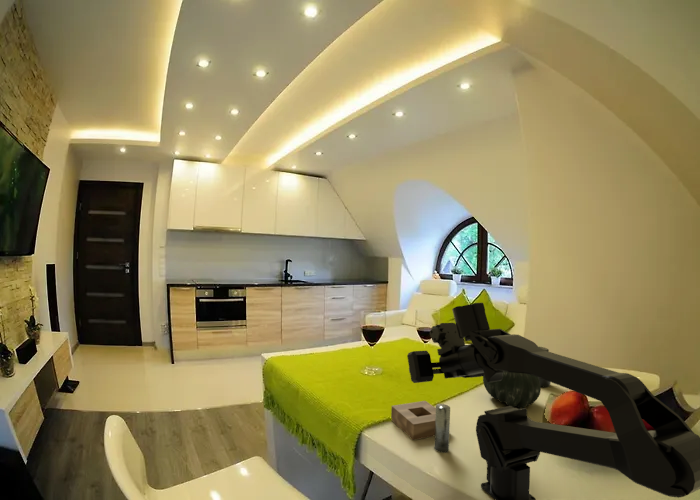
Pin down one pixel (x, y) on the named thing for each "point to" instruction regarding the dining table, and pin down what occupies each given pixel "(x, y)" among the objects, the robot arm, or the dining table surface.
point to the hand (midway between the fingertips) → (426, 369)
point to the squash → (515, 389)
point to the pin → (442, 428)
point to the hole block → (415, 419)
